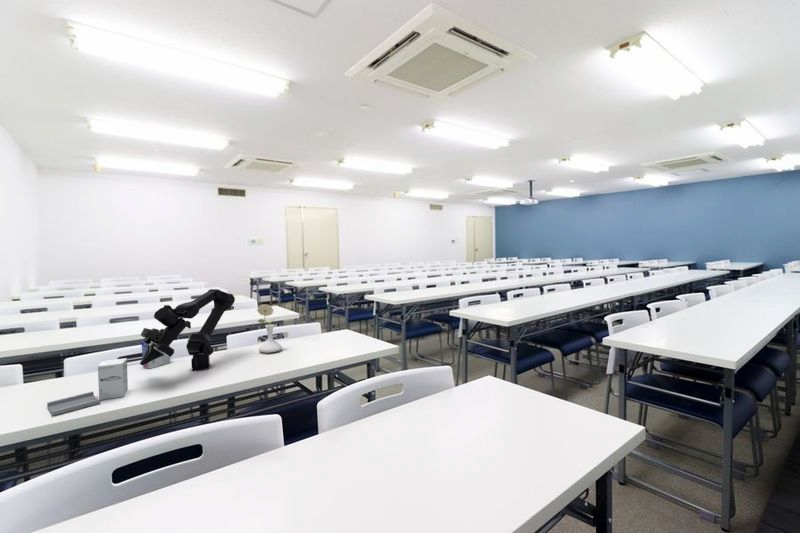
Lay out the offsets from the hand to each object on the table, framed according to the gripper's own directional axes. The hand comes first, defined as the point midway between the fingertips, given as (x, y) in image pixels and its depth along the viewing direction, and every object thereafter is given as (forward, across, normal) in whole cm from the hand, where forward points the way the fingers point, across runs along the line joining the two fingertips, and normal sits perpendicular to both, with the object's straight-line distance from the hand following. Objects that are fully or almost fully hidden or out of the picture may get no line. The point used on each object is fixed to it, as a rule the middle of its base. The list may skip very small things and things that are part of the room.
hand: (140, 364), depth 136 cm
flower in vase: (-34, -5, +47) cm, 58 cm away
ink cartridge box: (-3, -26, +16) cm, 31 cm away
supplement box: (+13, 0, +1) cm, 13 cm away
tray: (+20, 0, -7) cm, 22 cm away
